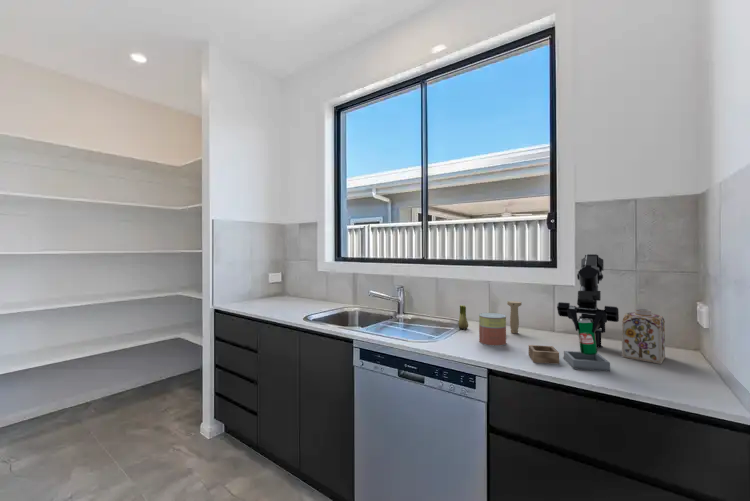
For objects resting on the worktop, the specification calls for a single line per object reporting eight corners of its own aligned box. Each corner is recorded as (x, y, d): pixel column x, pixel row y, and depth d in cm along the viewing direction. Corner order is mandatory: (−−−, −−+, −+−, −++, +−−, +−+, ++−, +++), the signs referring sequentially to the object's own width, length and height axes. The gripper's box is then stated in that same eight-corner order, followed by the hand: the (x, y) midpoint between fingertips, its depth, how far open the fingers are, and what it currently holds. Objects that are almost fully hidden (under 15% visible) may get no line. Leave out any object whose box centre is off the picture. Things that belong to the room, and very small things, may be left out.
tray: (596, 360, 124) (596, 352, 124) (610, 371, 114) (609, 362, 114) (563, 358, 127) (563, 350, 127) (573, 368, 116) (573, 360, 116)
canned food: (508, 341, 151) (508, 314, 151) (503, 347, 142) (503, 318, 142) (482, 337, 157) (482, 311, 157) (475, 343, 148) (475, 316, 148)
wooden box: (552, 356, 129) (552, 346, 129) (559, 364, 121) (559, 352, 121) (528, 355, 131) (528, 344, 131) (533, 362, 123) (533, 351, 123)
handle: (520, 334, 162) (520, 303, 162) (506, 333, 166) (506, 302, 165) (522, 332, 166) (522, 301, 166) (508, 331, 170) (508, 300, 170)
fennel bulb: (458, 327, 179) (458, 304, 179) (468, 327, 178) (468, 304, 178) (458, 329, 174) (458, 306, 173) (468, 330, 172) (468, 306, 172)
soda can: (578, 354, 120) (574, 319, 121) (582, 351, 123) (578, 317, 124) (595, 355, 116) (591, 320, 117) (599, 352, 120) (595, 318, 121)
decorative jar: (627, 350, 136) (627, 305, 136) (665, 357, 128) (665, 309, 128) (621, 357, 128) (621, 309, 128) (661, 364, 120) (661, 313, 120)
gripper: (557, 280, 129) (552, 314, 120) (618, 283, 117) (616, 321, 109) (561, 298, 135) (556, 332, 127) (619, 303, 124) (618, 340, 115)
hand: (584, 331), depth 119 cm, fingers closed on soda can, 5 cm apart
